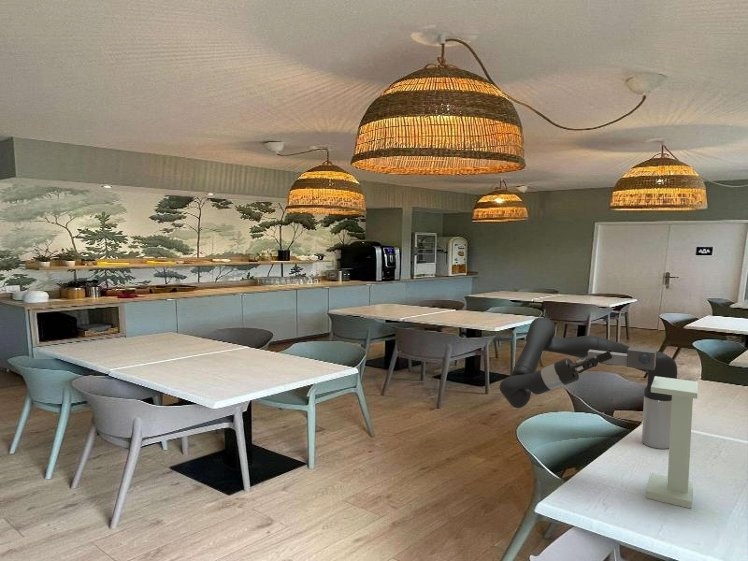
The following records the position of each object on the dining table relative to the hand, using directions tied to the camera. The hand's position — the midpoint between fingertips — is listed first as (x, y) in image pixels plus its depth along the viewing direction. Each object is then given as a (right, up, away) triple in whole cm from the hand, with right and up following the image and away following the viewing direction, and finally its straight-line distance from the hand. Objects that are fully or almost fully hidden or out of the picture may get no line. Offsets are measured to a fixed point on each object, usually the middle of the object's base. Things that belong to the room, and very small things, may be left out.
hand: (611, 353), depth 155 cm
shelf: (+14, -39, -6) cm, 42 cm away
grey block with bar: (+2, -3, -1) cm, 4 cm away
